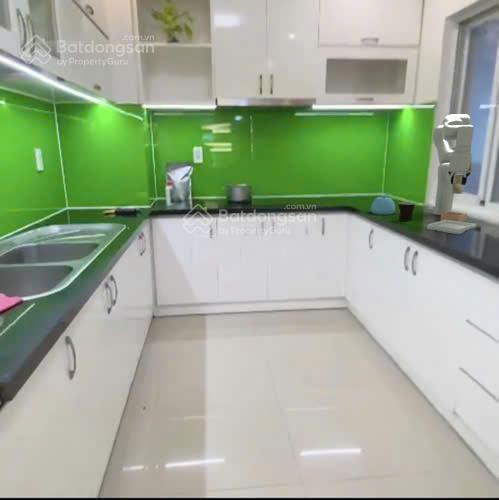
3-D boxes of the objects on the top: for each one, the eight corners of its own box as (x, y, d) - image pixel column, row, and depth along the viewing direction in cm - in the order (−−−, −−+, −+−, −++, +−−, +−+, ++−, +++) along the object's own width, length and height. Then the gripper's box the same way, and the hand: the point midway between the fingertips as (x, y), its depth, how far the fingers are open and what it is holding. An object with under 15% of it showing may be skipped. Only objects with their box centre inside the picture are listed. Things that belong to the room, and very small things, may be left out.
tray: (427, 229, 200) (427, 224, 199) (445, 224, 212) (445, 219, 211) (458, 234, 188) (458, 229, 187) (475, 228, 200) (476, 224, 199)
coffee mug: (400, 218, 228) (401, 201, 225) (415, 220, 222) (417, 203, 220) (393, 221, 219) (394, 204, 216) (408, 223, 214) (410, 205, 211)
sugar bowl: (397, 212, 249) (398, 194, 246) (392, 216, 236) (394, 197, 233) (373, 210, 256) (374, 193, 253) (367, 214, 244) (369, 195, 241)
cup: (440, 222, 216) (441, 213, 215) (448, 220, 222) (449, 211, 220) (457, 225, 209) (459, 216, 207) (465, 222, 214) (466, 213, 213)
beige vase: (450, 193, 211) (452, 174, 208) (454, 192, 214) (456, 174, 211) (459, 193, 207) (462, 175, 204) (463, 193, 210) (466, 174, 207)
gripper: (443, 149, 209) (439, 183, 213) (476, 150, 196) (471, 186, 200) (449, 149, 213) (445, 182, 218) (482, 149, 200) (477, 185, 205)
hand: (458, 184), depth 209 cm, fingers closed on beige vase, 5 cm apart
